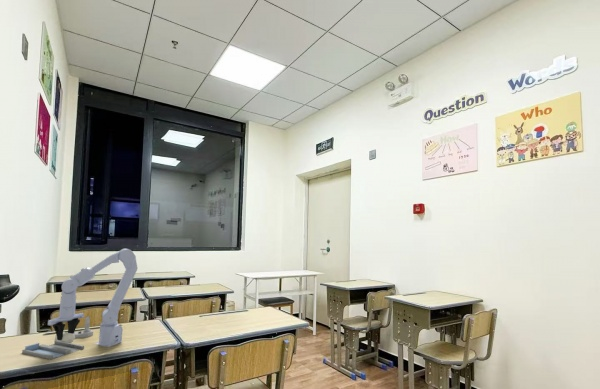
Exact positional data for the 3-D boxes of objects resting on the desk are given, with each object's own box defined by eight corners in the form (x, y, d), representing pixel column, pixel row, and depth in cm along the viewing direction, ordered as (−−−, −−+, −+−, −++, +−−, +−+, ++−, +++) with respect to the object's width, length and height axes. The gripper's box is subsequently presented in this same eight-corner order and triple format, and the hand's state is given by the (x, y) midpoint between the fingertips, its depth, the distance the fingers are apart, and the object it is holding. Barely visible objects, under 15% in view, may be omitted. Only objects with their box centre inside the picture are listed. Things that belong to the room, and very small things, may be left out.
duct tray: (83, 349, 145) (84, 342, 146) (50, 360, 132) (51, 353, 133) (56, 344, 152) (57, 337, 152) (21, 354, 139) (22, 347, 139)
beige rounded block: (74, 342, 146) (75, 332, 147) (65, 344, 142) (66, 334, 143) (63, 340, 148) (64, 330, 149) (54, 342, 145) (55, 332, 146)
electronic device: (57, 319, 161) (93, 314, 169) (56, 340, 160) (92, 334, 168) (56, 321, 156) (94, 317, 164) (55, 343, 155) (93, 337, 163)
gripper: (77, 302, 156) (74, 332, 154) (44, 309, 142) (41, 342, 140) (88, 303, 153) (85, 334, 151) (55, 310, 140) (52, 344, 138)
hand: (64, 338), depth 146 cm, fingers closed on beige rounded block, 4 cm apart
